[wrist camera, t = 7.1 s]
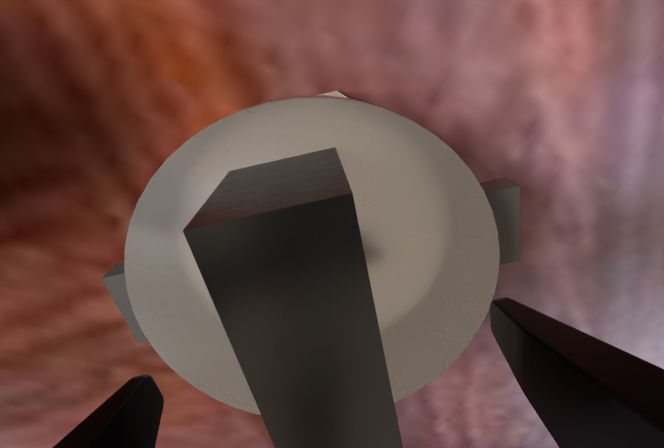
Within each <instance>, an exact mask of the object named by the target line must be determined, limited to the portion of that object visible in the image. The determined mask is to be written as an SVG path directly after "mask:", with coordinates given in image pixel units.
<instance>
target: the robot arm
mask: <svg viewBox="0 0 664 448" xmlns="http://www.w3.org/2000/svg"><path fill="white" fill-rule="evenodd" d="M490 316H491V329H492V332H493V335H494V337H495V339H496V341H497V343H498V345H499V347H500V349H501V351H502V352H503V354H504V356H505V358H506V360H507V362H508V364H509V366H510V368H511V370H512V372H513V374H514V376H515V378H516V380H517V382H518V383H519V385H520V387H521V389H522V391H523V392H524V394H525V396H526V397H527V399H528V400H529V402H530V403H531V405H532V406H533V408H534V409H535V411H536V413H537V414H538V416H539V417H540V419H541V420H542V422H543V423H544V425H545V426H546V428H547V429H548V431H549V432H550V434H551V435H552V437H553V438H554V440H555V442H556V443H557V445H558V446H559V448H664V369H662V368H660V367H658V366H656V365H653V364H651V363H649V362H647V361H645V360H643V359H640V358H638V357H636V356H634V355H632V354H629V353H627V352H625V351H623V350H621V349H619V348H616V347H614V346H612V345H610V344H608V343H606V342H603V341H601V340H599V339H597V338H595V337H593V336H590V335H588V334H586V333H584V332H582V331H580V330H577V329H575V328H573V327H571V326H569V325H566V324H564V323H562V322H560V321H558V320H556V319H553V318H551V317H549V316H547V315H545V314H543V313H540V312H538V311H536V310H534V309H532V308H530V307H527V306H525V305H523V304H521V303H519V302H516V301H514V300H512V299H510V298H501V299H496V300H493V301H492V302H491V304H490ZM163 404H164V400H163V396H162V393H161V392H160V390H159V388H158V387H157V385H156V383H155V381H154V380H153V378H152V376H150V375H147V374H146V375H141V376H136V377H133V378H131V379H130V380H129V381H128V382H127V383H125V384H124V385H123V386H122V387H121V388H120V389H119V390H118V391H116V392H115V393H114V394H113V395H112V396H111V397H110V398H108V399H107V400H106V401H105V402H104V403H103V404H102V405H101V406H99V407H98V408H97V409H96V410H95V411H94V412H93V413H91V414H90V415H89V416H88V417H87V418H86V419H85V420H83V421H82V422H81V423H80V424H79V425H78V426H77V427H76V428H74V429H73V430H72V431H71V432H70V433H69V434H68V435H66V436H65V437H64V438H63V439H62V440H61V441H60V442H58V443H57V444H56V445H55V446H54V447H53V448H155V444H156V439H157V434H158V430H159V425H160V420H161V415H162V410H163Z"/></svg>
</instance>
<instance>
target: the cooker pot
mask: <svg viewBox="0 0 664 448" xmlns="http://www.w3.org/2000/svg"><path fill="white" fill-rule="evenodd" d="M320 95H326V96H334V97H343V98H348V97H346V96H344V95H343V94H341V93H340V92H338V91H333V92H329V93H324V94H320ZM316 96H318V95H316ZM480 185H481V187H482V188H483V190H484V192H485V195H486V197H487V199H488V202H489V204H490V206H491V209H492V211H493V215H494V219H495V223H496V227H497V231H498V240H499V250H500V257H499V265H500V264H504V263H509V262H514V261H518V260H520V185H518V184H516V183H514V182H512V181H510V180H508V179H506V178H502V179H498V180H493V181H489V182H484V183H480ZM102 280H103V282H104V284H105V286H106V287H107V289H108V291H109V293H110V294H111V296H112V298H113V300H114V301H115V303H116V305H117V307H118V309H119V310H120V312H121V314H122V316H123V317H124V319H125V321H126V323H127V324H128V326H129V328H130V330H131V332H132V333H133V335H134V337H135V339H136V340H137V342H143V341H147V340H148V339H147V338H146V336H145V335H144V333H143V332H142V330H141V328H140V326H139V323H138V321H137V319H136V317H135V315H134V312H133V310H132V306H131V303H130V299H129V296H128V292H127V287H126V279H125V271H124V263H119V264H115V265H114V266H113V267H112V268H111V269H110V270H109V271H108V272H107V273H106V274H105V275H104V276H103V277H102Z"/></svg>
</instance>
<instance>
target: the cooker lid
mask: <svg viewBox="0 0 664 448" xmlns="http://www.w3.org/2000/svg"><path fill="white" fill-rule="evenodd" d="M499 257H500V250H499V240H498V231H497V227H496V223H495V219H494V215H493V211H492V209H491V206H490V204H489V202H488V199H487V197H486V195H485V192H484V190H483V188H482V187H481V185H480V184H479V182H478V181H477V179H476V177H475V176H474V174H473V173H472V171H471V170H470V168H469V167H468V166H467V165H466V164H465V163H464V162H463V160H462V159H461V158H460V157H459V156H458V155H457V154H456V152H455V151H454V150H452V149H451V148H450V147H449V146H448V145H447V144H445V143H444V142H443V141H442V140H441V139H439V138H438V137H437V136H436V135H435V134H433V133H431V132H430V131H428V130H427V129H425V128H423V127H422V126H420V125H418V124H417V123H415V122H414V121H412V120H410V119H408V118H406V117H404V116H401V115H399V114H397V113H394V112H392V111H390V110H387V109H385V108H383V107H380V106H378V105H374V104H370V103H367V102H363V101H359V100H355V99H351V98H343V97H334V96H326V95H318V96H294V97H287V98H281V99H275V100H269V101H266V102H263V103H260V104H256V105H253V106H250V107H247V108H244V109H242V110H239V111H237V112H235V113H233V114H231V115H229V116H227V117H225V118H222V119H220V120H218V121H217V122H215V123H213V124H211V125H210V126H208V127H207V128H205V129H204V130H202V131H201V132H199V133H198V134H196V135H195V136H193V137H192V138H190V139H189V140H187V141H186V142H185V143H184V144H183V145H182V146H181V147H179V148H178V149H177V150H176V151H175V152H174V153H173V154H172V155H171V156H170V157H168V158H167V159H166V161H165V162H164V163H163V164H162V166H161V167H160V168H159V169H158V171H157V172H156V173H155V174H154V176H153V177H152V178H151V179H150V181H149V183H148V185H147V186H146V188H145V190H144V191H143V193H142V195H141V197H140V198H139V200H138V202H137V205H136V208H135V210H134V213H133V216H132V218H131V221H130V224H129V229H128V234H127V239H126V244H125V260H124V271H125V279H126V287H127V292H128V296H129V299H130V303H131V306H132V310H133V312H134V315H135V317H136V319H137V321H138V323H139V326H140V328H141V330H142V332H143V333H144V335H145V336H146V338H147V339H148V341H149V342H150V344H151V346H152V347H153V348H154V350H155V351H156V352H157V353H158V354H159V356H160V357H161V358H162V359H163V360H164V361H165V363H166V364H167V365H168V366H170V367H171V368H172V369H173V370H174V371H175V372H176V373H177V374H178V375H179V376H180V377H182V378H183V379H184V380H186V381H187V382H188V383H190V384H191V385H193V386H194V387H195V388H197V389H198V390H200V391H202V392H204V393H205V394H207V395H209V396H211V397H212V398H214V399H216V400H218V401H221V402H223V403H225V404H228V405H230V406H232V407H235V408H238V409H241V410H244V411H247V412H251V413H254V414H259V415H261V416H262V418H263V421H264V423H265V425H266V428H267V430H268V432H269V435H270V437H271V439H272V442H273V444H274V446H275V448H403V446H402V441H401V436H400V430H399V425H398V420H397V415H396V410H395V405H394V402H396V401H398V400H400V399H402V398H405V397H407V396H409V395H410V394H412V393H414V392H415V391H417V390H419V389H420V388H422V387H424V386H425V385H427V384H428V383H429V382H431V381H432V380H433V379H435V378H436V377H438V376H439V375H440V374H441V373H442V372H444V371H445V370H446V369H447V368H448V367H449V366H450V365H451V364H452V363H453V362H454V361H455V360H456V359H457V358H458V357H459V356H460V355H461V353H462V352H463V351H464V350H465V349H466V348H467V347H468V345H469V344H470V342H471V341H472V339H473V338H474V336H475V335H476V333H477V332H478V330H479V329H480V327H481V325H482V323H483V321H484V319H485V317H486V315H487V313H488V311H489V308H490V304H491V302H492V299H493V296H494V294H495V289H496V284H497V279H498V274H499Z"/></svg>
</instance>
